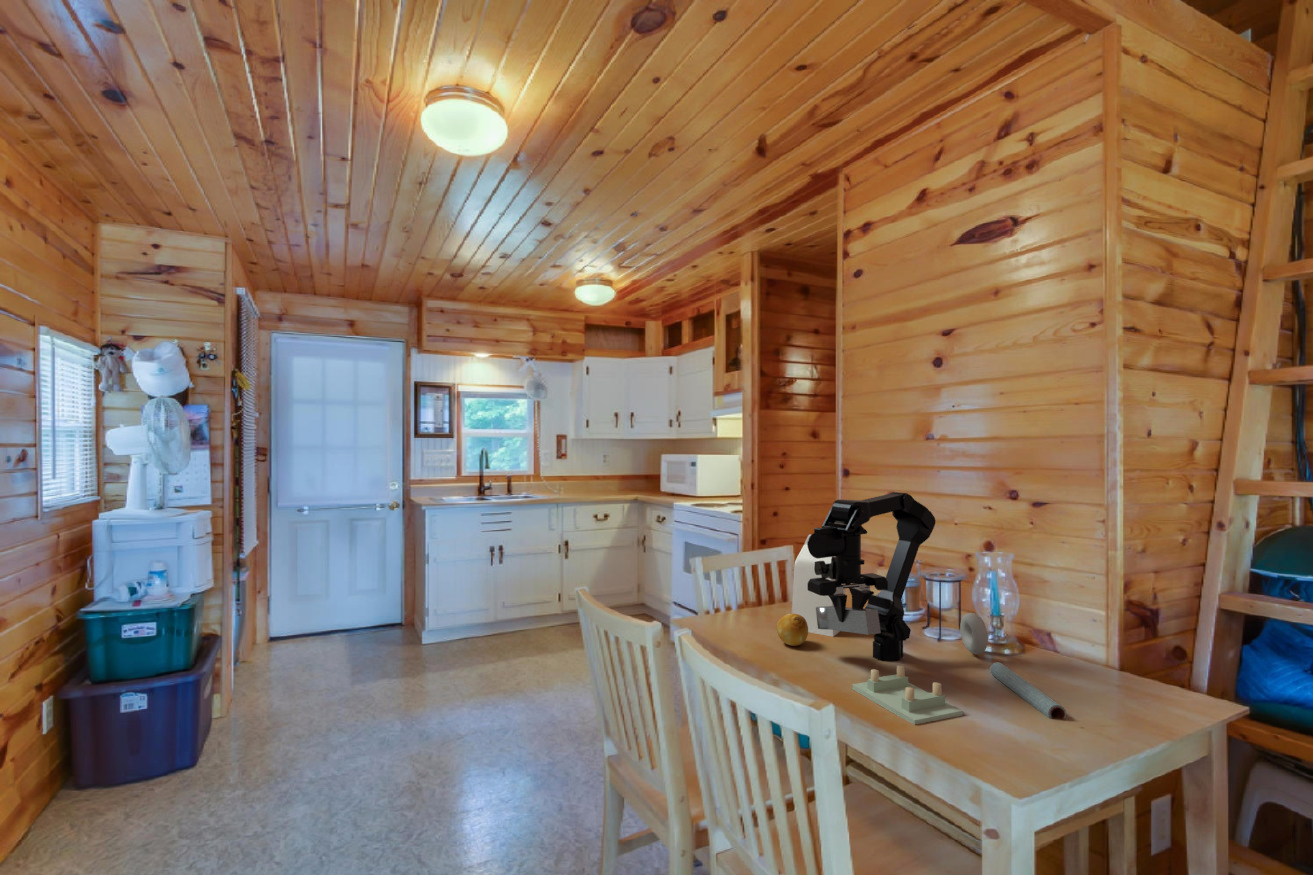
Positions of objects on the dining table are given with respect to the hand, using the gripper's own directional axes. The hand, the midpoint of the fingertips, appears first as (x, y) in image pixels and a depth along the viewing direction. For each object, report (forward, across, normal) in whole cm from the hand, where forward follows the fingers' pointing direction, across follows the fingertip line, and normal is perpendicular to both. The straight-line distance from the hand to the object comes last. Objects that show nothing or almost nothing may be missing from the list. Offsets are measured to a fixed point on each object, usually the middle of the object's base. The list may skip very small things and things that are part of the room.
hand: (847, 620), depth 145 cm
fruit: (+11, +3, -18) cm, 22 cm away
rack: (+11, +1, +20) cm, 22 cm away
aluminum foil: (+12, -27, +26) cm, 39 cm away
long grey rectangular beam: (+2, 0, +2) cm, 3 cm away
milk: (+11, -12, -29) cm, 33 cm away
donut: (+11, -36, +2) cm, 38 cm away
